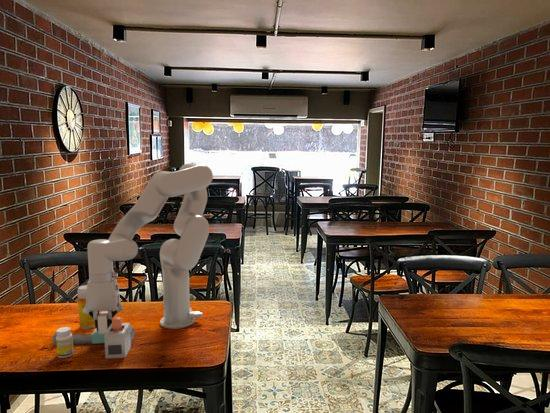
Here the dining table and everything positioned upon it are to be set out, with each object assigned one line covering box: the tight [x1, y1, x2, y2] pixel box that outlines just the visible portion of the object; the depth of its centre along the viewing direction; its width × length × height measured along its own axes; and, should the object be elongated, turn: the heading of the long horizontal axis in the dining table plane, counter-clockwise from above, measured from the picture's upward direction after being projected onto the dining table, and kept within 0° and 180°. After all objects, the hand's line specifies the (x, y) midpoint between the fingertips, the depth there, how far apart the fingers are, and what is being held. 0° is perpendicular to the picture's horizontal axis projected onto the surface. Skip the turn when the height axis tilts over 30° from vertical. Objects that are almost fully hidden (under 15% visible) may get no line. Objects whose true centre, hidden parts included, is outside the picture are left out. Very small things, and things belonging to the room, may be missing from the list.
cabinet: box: [104, 322, 132, 359], centre depth 139 cm, size 6×8×8 cm
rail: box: [52, 325, 135, 347], centre depth 147 cm, size 25×5×4 cm, turn 96°
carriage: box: [91, 311, 108, 344], centre depth 147 cm, size 7×6×9 cm
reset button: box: [112, 316, 123, 331], centre depth 138 cm, size 3×3×4 cm
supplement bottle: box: [55, 326, 75, 359], centre depth 138 cm, size 5×5×8 cm
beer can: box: [76, 284, 95, 330], centre depth 159 cm, size 6×6×15 cm
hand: (104, 328), depth 147 cm, fingers closed on carriage, 2 cm apart
